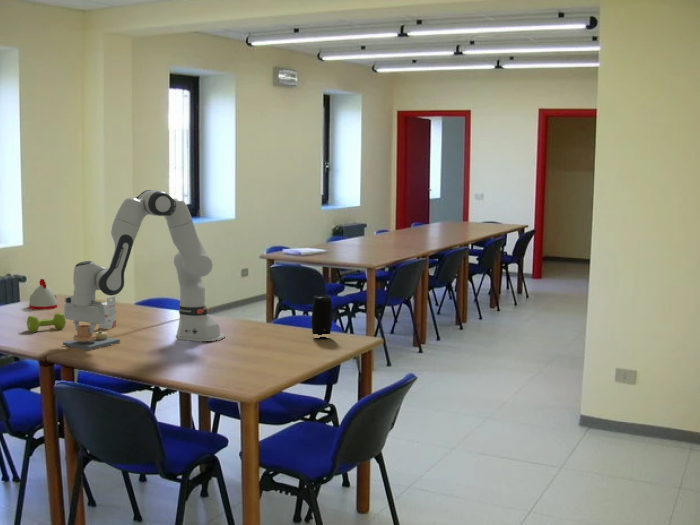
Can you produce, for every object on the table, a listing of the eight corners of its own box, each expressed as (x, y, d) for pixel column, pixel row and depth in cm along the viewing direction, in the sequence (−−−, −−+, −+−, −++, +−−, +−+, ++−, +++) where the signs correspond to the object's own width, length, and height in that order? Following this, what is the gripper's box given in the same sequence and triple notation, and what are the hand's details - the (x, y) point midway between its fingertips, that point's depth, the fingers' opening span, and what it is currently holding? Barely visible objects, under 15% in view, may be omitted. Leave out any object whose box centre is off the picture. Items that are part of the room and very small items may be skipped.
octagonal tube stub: (100, 338, 350) (100, 325, 350) (84, 342, 342) (84, 329, 342) (84, 335, 355) (84, 323, 354) (69, 339, 347) (68, 326, 346)
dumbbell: (31, 333, 370) (31, 317, 369) (25, 330, 376) (25, 315, 375) (67, 329, 381) (67, 314, 380) (60, 326, 387) (60, 311, 386)
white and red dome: (51, 304, 443) (51, 276, 441) (61, 308, 432) (60, 280, 431) (25, 306, 434) (25, 278, 432) (34, 310, 424) (34, 281, 422)
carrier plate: (119, 342, 357) (119, 328, 356) (89, 350, 341) (89, 335, 340) (94, 338, 364) (94, 323, 363) (62, 345, 348) (62, 330, 347)
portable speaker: (330, 340, 376) (331, 298, 373) (310, 339, 376) (311, 297, 374) (332, 336, 384) (333, 295, 382) (312, 335, 385) (313, 294, 382)
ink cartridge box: (106, 325, 393) (106, 294, 391) (116, 326, 392) (116, 295, 390) (97, 328, 384) (97, 297, 382) (107, 329, 383) (107, 298, 382)
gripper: (108, 301, 345) (108, 333, 346) (72, 296, 354) (73, 327, 356) (97, 303, 339) (97, 336, 341) (61, 298, 348) (61, 330, 350)
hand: (84, 331), depth 348 cm, fingers closed on octagonal tube stub, 6 cm apart
